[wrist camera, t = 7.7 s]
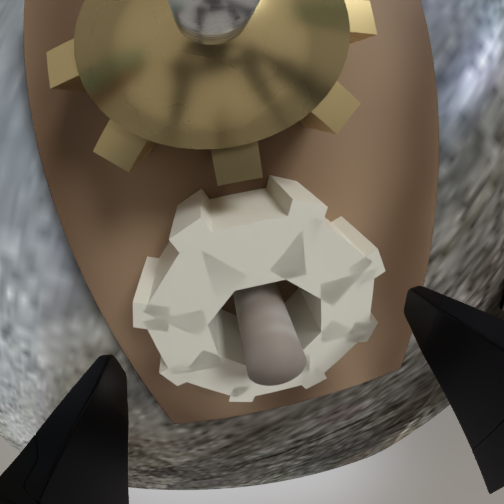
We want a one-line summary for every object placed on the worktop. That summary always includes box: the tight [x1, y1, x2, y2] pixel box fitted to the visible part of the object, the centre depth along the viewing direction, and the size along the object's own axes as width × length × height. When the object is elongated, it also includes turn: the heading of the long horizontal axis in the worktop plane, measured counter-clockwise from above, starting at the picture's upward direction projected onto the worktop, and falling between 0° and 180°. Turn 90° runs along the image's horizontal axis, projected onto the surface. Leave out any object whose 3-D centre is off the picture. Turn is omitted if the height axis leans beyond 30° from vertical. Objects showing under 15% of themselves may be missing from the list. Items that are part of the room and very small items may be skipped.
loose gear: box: [133, 175, 385, 402], centre depth 9 cm, size 7×7×2 cm
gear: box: [46, 0, 377, 186], centre depth 5 cm, size 8×8×4 cm
